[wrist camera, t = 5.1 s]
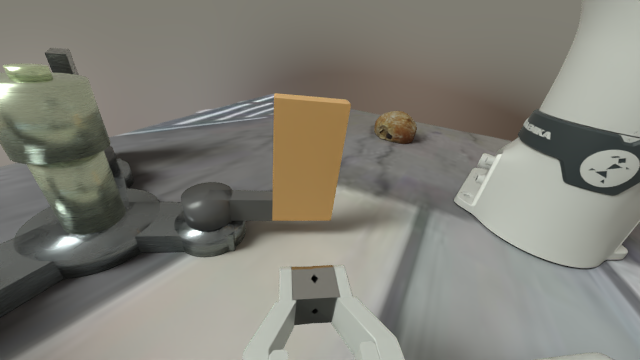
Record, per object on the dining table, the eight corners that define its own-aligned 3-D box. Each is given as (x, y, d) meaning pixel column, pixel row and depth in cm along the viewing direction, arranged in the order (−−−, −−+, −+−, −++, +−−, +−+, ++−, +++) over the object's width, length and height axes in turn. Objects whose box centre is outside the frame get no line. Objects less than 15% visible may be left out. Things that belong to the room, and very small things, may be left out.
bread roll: (366, 147, 61) (367, 122, 55) (383, 123, 66) (385, 97, 59) (405, 159, 57) (410, 133, 51) (419, 133, 62) (426, 106, 55)
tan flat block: (178, 231, 21) (144, 91, 15) (193, 201, 25) (170, 80, 19) (333, 229, 24) (355, 109, 18) (326, 203, 28) (342, 95, 22)
